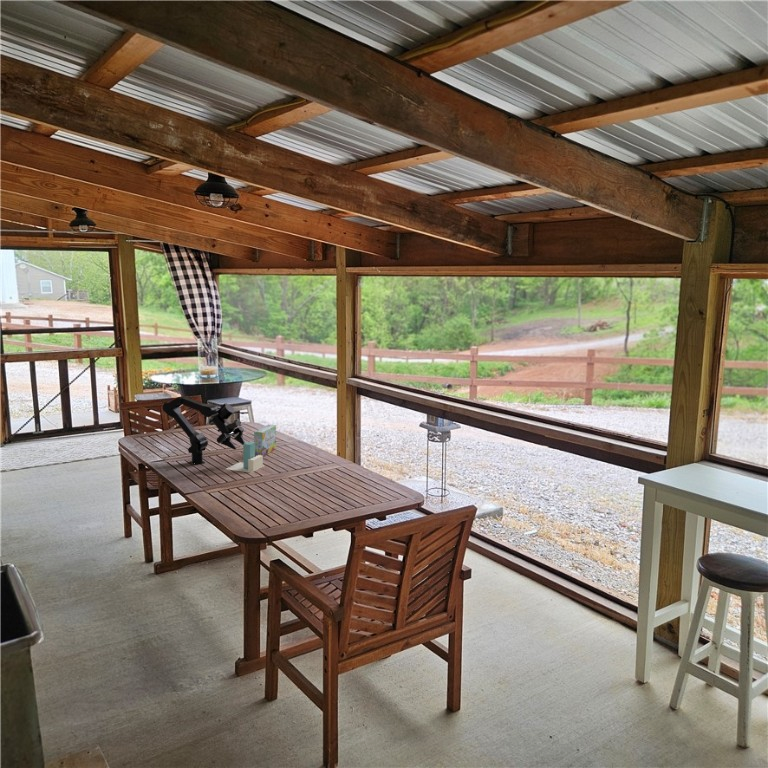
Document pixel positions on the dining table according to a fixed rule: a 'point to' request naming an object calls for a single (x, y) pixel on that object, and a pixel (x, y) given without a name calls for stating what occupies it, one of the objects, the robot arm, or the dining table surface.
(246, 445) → the tall teal pillar
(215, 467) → the dining table surface
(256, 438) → the snack box
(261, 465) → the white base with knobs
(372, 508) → the dining table surface
